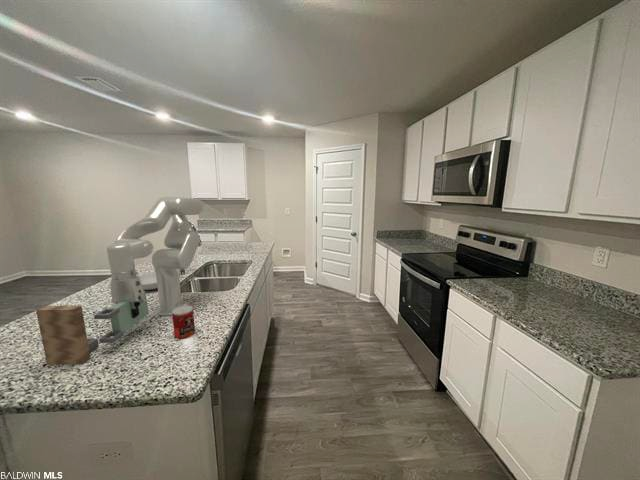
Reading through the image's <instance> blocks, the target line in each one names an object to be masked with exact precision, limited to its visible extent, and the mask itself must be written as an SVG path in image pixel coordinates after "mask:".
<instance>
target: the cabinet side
mask: <svg viewBox="0 0 640 480" xmlns="http://www.w3.org/2000/svg"><path fill="white" fill-rule="evenodd" d="M82 306H83V305H45V306H43V307H39V308H37V309H35V313H36V316H37V317H36V318H37V323H38V328H39V331H40V336H41V342H42V347H43V351H44V355H45V361H46V365H48V366H49V364H50V366H51V364H52V366H53V364H67V365H84V364H85V363H87V362H88V361H90V360H91V359H92V358H91V353H93V352H94V351H95V350H97V349H98V348H99V347H100V344H99V339H98V338H88V335H87V330H86V324H85V318H84V312H83V307H82ZM86 361H87V362H86Z"/></svg>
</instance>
